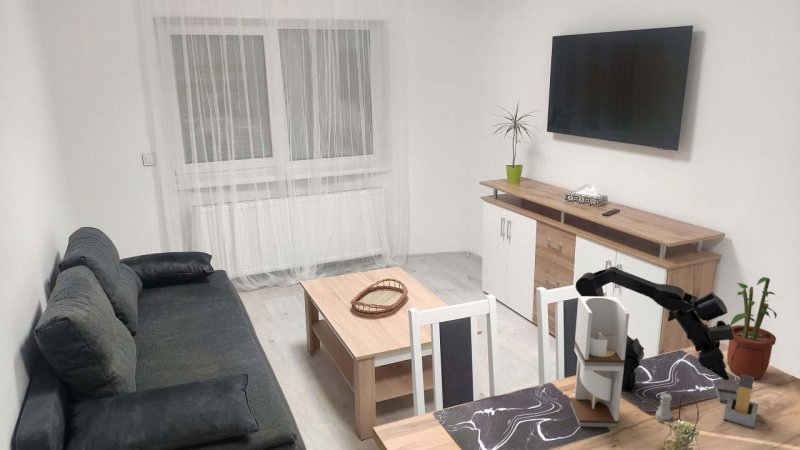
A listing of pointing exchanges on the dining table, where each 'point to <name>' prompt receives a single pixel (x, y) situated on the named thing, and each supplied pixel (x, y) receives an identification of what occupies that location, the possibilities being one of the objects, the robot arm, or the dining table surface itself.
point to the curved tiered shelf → (599, 360)
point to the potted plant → (751, 337)
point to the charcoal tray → (725, 394)
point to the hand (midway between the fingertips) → (725, 373)
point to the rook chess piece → (664, 408)
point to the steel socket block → (740, 414)
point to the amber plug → (744, 393)
